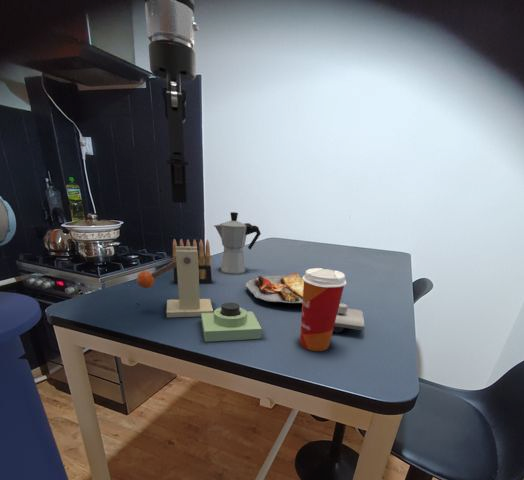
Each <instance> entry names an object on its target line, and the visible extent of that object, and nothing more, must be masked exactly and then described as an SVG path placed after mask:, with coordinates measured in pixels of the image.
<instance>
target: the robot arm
mask: <svg viewBox="0 0 524 480" xmlns="http://www.w3.org/2000/svg"><path fill="white" fill-rule="evenodd" d="M144 10H145V23H146V34H147V35H146V36H147V39H148V40H149V41H150V42H149V44H148V56H149V57H148V58H149V69H150V71H151V74H153V75H154V76H155V77H157V78H160V79H165V80H166V87H162V88H161V91H162V92H161V93H162V100H163V103H164V113H165V114H164V115H165V120H166V121H167V124H168V126H167V127H168V138H169V140H168V142H169V159H166V164H167V165H170V166H169V167H170V181H171V183H170V184H171V198H172V203H178V204H187V181H186V179H187V178H186V166H187V167H188V166H189V162H188V161H186V155H185V145H184V142H185V141H184V139H185V138H184V123H185V122H186V105H187V90H185V89H182V88H181V87H182V83H181V82H187V83H188V82H192V81H194V80H195V79H196V77H197V71H196V69H197V68H196V52H195V51H194V47H195V45H196V43H195V40H196V39H195V36H196V35H195V32H198V31H199V23H197V22H195V0H144ZM16 219H17V218H16V215H15V212H14V210H13V208H12V207H11V205H10V204H9V202H8V201H7V200H4V199H3V197H2V196H1V195H0V246H3V245H6V244H8V243H9V242H11V240H12V239H13V237H14V236H15V234H16V231H17V229H16V228H17V220H16Z"/></svg>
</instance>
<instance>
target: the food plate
mask: <svg viewBox="0 0 524 480" xmlns="http://www.w3.org/2000/svg"><path fill="white" fill-rule="evenodd" d="M302 278H303V276H300V275H299V273H298V272H294V273H291V274H288V275H283V274H282V275H281V274H280V275H275V274H273V275H257V277H253V278H250V279H249V280H248V281H246V282H245V284H244V286H245V287H246V288H247V290H248V291H249V292H250V293H251V294H253V296H254V297H255V298H256V299H259V300H263V301H266V302H274V303H280V304H290V305H291V304H292V305H295V304H296V305H297V304H302V302H303V287H304V281H303V279H302Z"/></svg>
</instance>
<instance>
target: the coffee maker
mask: <svg viewBox="0 0 524 480" xmlns="http://www.w3.org/2000/svg"><path fill="white" fill-rule="evenodd" d="M238 217H239V213H238V212H235V211H232V212H230V220H228V221H225V222H221V223H219V224H214V225H213V227H214V228H215V229H216V231H217V233H218V234H219V237H220V240H221V245H222V246H223V253H222V261H221V267H220V272H221V273H225V274H229V275H231V274H232V275H239V274H245V273H246V266H245V265H246V264H245V255H244V247H245V246H246V241H247V236H248V235H251V234H253V233H256V234H255V236H254V237H253V239H252V240H251V242H250V243H249V245H248V246H247V248H248V249H249V251H251V250H252V248H253V246H255V243H256V242H257V240H258V239H259V237H260V236H261V234H262V233H261V231H260V228H259V226H257V225H253V224H252V223H249V222H244V223H243V222H241V221H238Z"/></svg>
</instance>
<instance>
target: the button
mask: <svg viewBox="0 0 524 480" xmlns="http://www.w3.org/2000/svg"><path fill="white" fill-rule="evenodd" d="M220 308H221V314H222V315H224V316H229V317H230V316H238V315H239V314H240V308H241V307H240V304H239V303H236V302H224V303H222V304H221V306H220Z"/></svg>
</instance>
